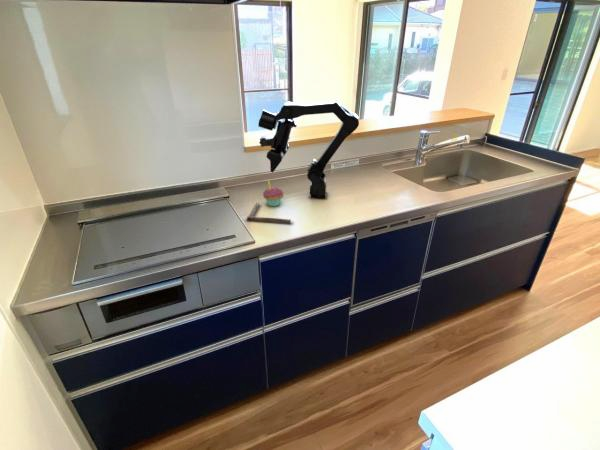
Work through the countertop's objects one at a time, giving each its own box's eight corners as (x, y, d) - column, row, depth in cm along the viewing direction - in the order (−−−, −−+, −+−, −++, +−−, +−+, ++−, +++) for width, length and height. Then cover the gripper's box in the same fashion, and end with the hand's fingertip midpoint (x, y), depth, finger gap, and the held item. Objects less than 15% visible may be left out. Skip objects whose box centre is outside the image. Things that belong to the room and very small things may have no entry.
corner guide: (295, 208, 142) (295, 205, 142) (290, 224, 131) (290, 220, 130) (255, 205, 144) (255, 202, 144) (247, 220, 133) (246, 217, 133)
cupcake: (268, 210, 141) (266, 182, 135) (260, 201, 148) (258, 175, 142) (287, 205, 145) (286, 179, 139) (278, 197, 151) (277, 172, 145)
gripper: (269, 122, 149) (261, 155, 157) (258, 133, 133) (250, 170, 141) (293, 130, 149) (284, 163, 157) (285, 142, 133) (276, 178, 141)
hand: (274, 168), depth 149 cm, fingers open, 9 cm apart
